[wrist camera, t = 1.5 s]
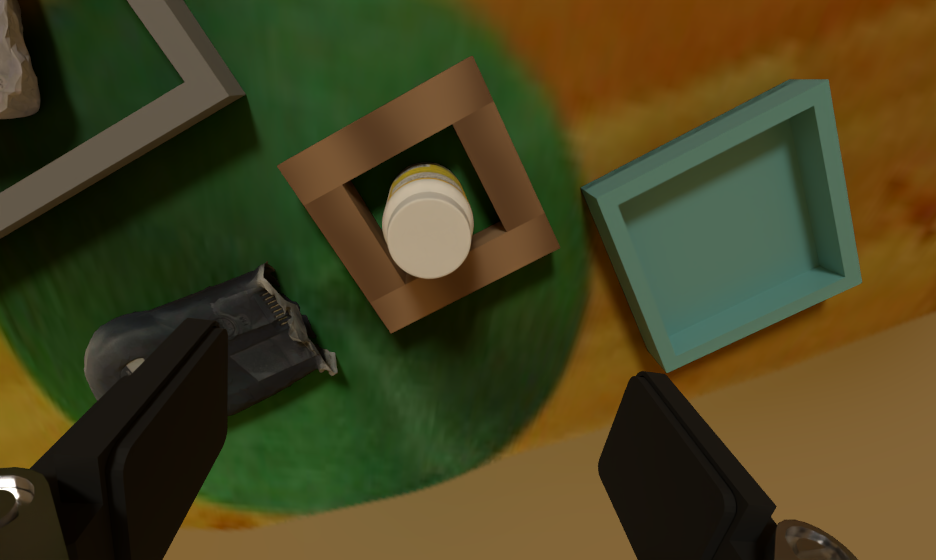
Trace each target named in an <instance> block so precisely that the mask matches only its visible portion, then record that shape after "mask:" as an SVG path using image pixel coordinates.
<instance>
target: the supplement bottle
mask: <svg viewBox="0 0 936 560" xmlns="http://www.w3.org/2000/svg"><path fill="white" fill-rule="evenodd" d="M473 228H474V220H473V213H472V210H471V207H470V204H469V202H468V200H467V198H466V195H465V193H464V190H463V188H462V186H461V184H460V182H459V180H458V179H457V177H456V176H455V175H454V174H453V173H452V172H451V171H450V170H448V169H447V168H445V167H444V166H441V165H439V164H436V163H430V162H421V163H416V164H413V165H411V166H408V167H407V168H405V169H404V170H402V171H401V172H400V173H399V174H398V175H397V176H396V178H395V179H394V181H393V183H392V185H391V187H390V191H389V195H388V199H387V203H386V207H385V210H384V214H383V219H382V230H383V235H384V239H385V241H386V243H387V245H388V249H389V252H390V255H391V257H392V258H393V260H394V261H395V263H396V264H397V265H398V266H399V267H400V268H401V269H402V270H404V271H405V272H407V273H409V274H411V275H413V276H416V277H419V278H425V279H434V278H439V277H443V276H446V275H448V274H450V273H452V272H453V271H455V270H456V269H457V268H458V267H459V266H460V265H461V264H462V263H463V262H464V260H465V259H466V257H467V255H468V253H469V250H470V246H471V238H472V234H473Z"/></svg>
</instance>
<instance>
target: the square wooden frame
mask: <svg viewBox="0 0 936 560" xmlns="http://www.w3.org/2000/svg"><path fill="white" fill-rule="evenodd" d="M451 124H452V125H453V127H454V129H455V131H456V133H457V135H458V137H459V139H460V141H461V143H462V145H463V147H464V149H465V151H466V153H467V155H468V157H469V159H470V161H471V163H472V165H473V167H474V169H475V171H476V173H477V175H478V177H479V179H480V181H481V183H482V185H483V187H484V189H485V191H486V193H487V195H488V197H489V199H490V201H491V203H492V205H493V207H494V209H495V211H496V213H497V215H498V217H499V219H500V221H499V222H497V223H496V224H494V225H492V226H490V227H488V228H486V229H484V230H482V231H480V232H478V233H476V234H474V235H472V238H471V246H470V250H469V253H468V255H467V257H466V259H465V260H464V262H463V263H462V264H461V265H460V266H459V267H458V268H457V269H456V270H455V271H453V272H452V273H450V274H448V275H446V276H443V277H439V278H434V279H425V278H419V277H416V276H413V275H411V274H409V273H407V272H405V271H404V270H402V269H401V268H400V267H399V266H398V265H397V264H396V263H395V261H394V260H393V258H392V257H391V255H390V252H389V249H388V245H387V243H386V241H385V239H384V235H383V231H382V230H381V228H380V227H379V225H378V223H377V222H376V220H375V219H374V217H373V215H372V214H371V212H370V211H369V209H368V207H367V206H366V204H365V202H364V201H363V199H362V198H361V196H360V194H359V193H358V191H357V190H356V188H355V186H354V185H353V183H352V182H351V179H353V178H355V177H357V176H359V175H360V174H362V173H364V172H366V171H368V170H370V169H371V168H373V167H375V166H377V165H379V164H380V163H382V162H384V161H386V160H388V159H390V158H391V157H393V156H395V155H397V154H399V153H400V152H402V151H404V150H406V149H408V148H410V147H411V146H413V145H415V144H417V143H419V142H420V141H422V140H424V139H426V138H428V137H430V136H431V135H433V134H435V133H437V132H439V131H440V130H442V129H444V128H446V127H448V126H450V125H451ZM277 167H278V168H279V170H280V171H281V173H282V174H283V176H284V177H285V179H286V180H287V182H288V183H289V185H290V186H291V187H292V189H293V190H294V192H295V193H296V195H297V196H298V198H299V199H300V201H301V202H302V204H303V205H304V207H305V208H306V209H307V211H308V212H309V214H310V215H311V217H312V218H313V220H314V221H315V223H316V224H317V226H318V227H319V229H320V230H321V232H322V233H323V234H324V236H325V237H326V239H327V240H328V242H329V243H330V245H331V246H332V248H333V249H334V251H335V252H336V254H337V255H338V256H339V258H340V259H341V261H342V262H343V264H344V265H345V267H346V268H347V270H348V271H349V273H350V274H351V276H352V277H353V279H354V280H355V281H356V283H357V284H358V286H359V287H360V289H361V290H362V292H363V293H364V295H365V296H366V298H367V299H368V301H369V302H370V304H371V305H372V306H373V308H374V309H375V311H376V312H377V314H378V315H379V317H380V318H381V320H382V321H383V323H384V324H385V326H386V327H387V328H388V330H389V331H390V333H393V332H395V331H397V330H399V329H401V328H403V327H405V326H407V325H409V324H411V323H413V322H415V321H417V320H419V319H421V318H422V317H424V316H426V315H428V314H430V313H432V312H434V311H436V310H438V309H440V308H442V307H444V306H446V305H448V304H450V303H452V302H454V301H456V300H458V299H460V298H462V297H464V296H466V295H468V294H470V293H472V292H474V291H476V290H478V289H480V288H482V287H484V286H486V285H488V284H490V283H492V282H494V281H496V280H498V279H500V278H502V277H504V276H506V275H508V274H510V273H512V272H513V271H515V270H517V269H519V268H521V267H523V266H525V265H527V264H529V263H531V262H533V261H535V260H537V259H539V258H541V257H543V256H545V255H547V254H549V253H551V252H553V251H555V250H557V249H559V248H560V246H559V244H558V241H557V239H556V237H555V235H554V233H553V230H552V228H551V226H550V224H549V222H548V220H547V217H546V215H545V213H544V211H543V209H542V206H541V204H540V202H539V200H538V198H537V195H536V193H535V191H534V189H533V187H532V185H531V182H530V180H529V178H528V176H527V174H526V171H525V169H524V167H523V165H522V163H521V160H520V158H519V156H518V154H517V152H516V150H515V147H514V145H513V143H512V141H511V139H510V136H509V134H508V132H507V130H506V128H505V125H504V123H503V121H502V119H501V117H500V115H499V112H498V110H497V108H496V106H495V104H494V101H493V99H492V97H491V95H490V93H489V90H488V88H487V86H486V84H485V82H484V80H483V77H482V75H481V73H480V71H479V69H478V66H477V64H476V62H475V60H474V58H473V56H470V57H468V58H467V59H465V60H463V61H461V62H459V63H458V64H456V65H454V66H452V67H451V68H449V69H447V70H445V71H443V72H442V73H440V74H438V75H436V76H435V77H433V78H431V79H429V80H428V81H426V82H424V83H422V84H420V85H419V86H417V87H415V88H413V89H412V90H410V91H408V92H406V93H404V94H403V95H401V96H399V97H397V98H396V99H394V100H392V101H390V102H389V103H387V104H385V105H383V106H381V107H380V108H378V109H376V110H374V111H373V112H371V113H369V114H367V115H366V116H364V117H362V118H360V119H358V120H357V121H355V122H353V123H351V124H350V125H348V126H346V127H344V128H342V129H341V130H339V131H337V132H335V133H334V134H332V135H330V136H328V137H327V138H325V139H323V140H321V141H319V142H318V143H316V144H314V145H312V146H311V147H309V148H307V149H305V150H304V151H302V152H300V153H298V154H296V155H295V156H293V157H291V158H289V159H288V160H286V161H284V162H283V163H281V164H279V165H278V166H277Z"/></svg>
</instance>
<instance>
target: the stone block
mask: <svg viewBox="0 0 936 560" xmlns="http://www.w3.org/2000/svg"><path fill="white" fill-rule="evenodd" d="M39 108H40V92H39V88H38V82H37V77H36V75H35V73H34V71H33V68H32V64H31V58H30V55H29V52H28V50H27V48H26V46H25V43H24V39H23V26H22V22H21V9H20V6H19V3H18V0H0V119H12V118H20V117H26V116H30V115H33V114H35V113H36V112H38V111H39Z"/></svg>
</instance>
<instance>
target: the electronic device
mask: <svg viewBox="0 0 936 560" xmlns="http://www.w3.org/2000/svg"><path fill="white" fill-rule="evenodd" d="M274 271H275V269H274V268H273V267H272V266H270V265H269V264H268V261H267V262H266V263H264V264H262V265H261V266H259V267H258V268H257V269H256V270H254V271H251V272H248V273H246V274H244V275H241V276H239V277H236V278H233V279H231V280H228V281H226V282H224V283H221V284H218V285H215V286H213V287H211V286H209V287H207V288H206V289H204V290H202V291H199V292H197V293H194V294H191V295H189V296H186V297H184V298H181V299H178V300H175V301H173V302H170V303H168V304H165V305H162V306H160V307H157V308H154V309H152V310H149V311H142V312H133V313H131V314H126V315H122V316H120V317H117V318H115V319H113V320H111V321H109V322H108V323H106V324H105V325H102V326H100V328H99V329H98V330H97V331H95V333H94V334H93V337H92V338H91V340H90V343H89V345H88V347H87V349H86V352H85V357H84V364H85V368H84V371H85V376H86V379H87V381H88V383H89V385H90V388H91V391H92V392H93V394H94V396H95V398H96V399H97V401H98V400H99V399H100V398H101V397H102V396H103V395H104V394H105V393H106V392H107V391H108V390H109V389H110V388H111V387H112V386H113V385H114V384H115V383H116V382H117V381H118V380H119V379H121V378H122V377H123V376H126V375H131V374H132V373H133V372H134V371H135V370H136V369H137V368H138V367H139V366H140V365H141V364H142V363H143V362H144V361H145V360H146V359H147V358H148V357H149V356H150V355H151V354H152V353H153V352H154V351H155V350H156V349H157V347H158V346H159V345H160V344H161V343H162V342H163V341H164V340H165V339H166V338H167V337H168V336H169V335H170V334H171V333H172V332H173V331H174V330H175V329H176V328H177V327H178V326H179V325H180V324H181V323H182V322H183V321H184V320H185V319H186V318H197V319H205V320H213V321H217V322H218V323H219V326H220V328H224V329H226V330H227V332H228V404H227V416H230V415H234V414H236V413H238V412H240V411H242V410H244V409H246V408H248V407H250V406H252V405H254V404H256V403H258V402H260V401H262V400H264V399H266V398H268V397H270V396H272V395H274V394H276V393H278V392H280V391H281V390H283V389H285V388H287V387H289V386H291V385H292V384H293V383H294V382H296V381H298V380H300V379H301V378H303V377H305V376H306V375H308V374H310V373H311V372H313V371H314V370H316V369H318V370H319V372H321V373H322V372H323V371H324V370H327V371H329V374H330V375H331V376H333V375H335V374H337V372H338V371H337V366H336V358H335V352H329V351H328V350H327V349H326V350H325V349H322V348H321V347H319V346H318V344H313V343H312V342H311V340H310V339H309V338H308V336H310V337H312V338H316V335H315V333H314V332H313V331H312V330H311V324H310V323H309V320H308V317H307V316H306V315H301V313H300V307H299V305H298V304H297V302H294V301H291V300H290V299H289V298H287V297H286V296H285V295H284V294H279V293H278V292H277V291H276V290H275V289H274V288H273V287H272V286H271V284H270V283H272V284H274V285H276V286H278V287H280V285H279V283H278V281H277V279H276V278H275V277H274V276H272V275H271V274H270V273H271V272H274ZM307 335H308V336H307Z"/></svg>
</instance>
